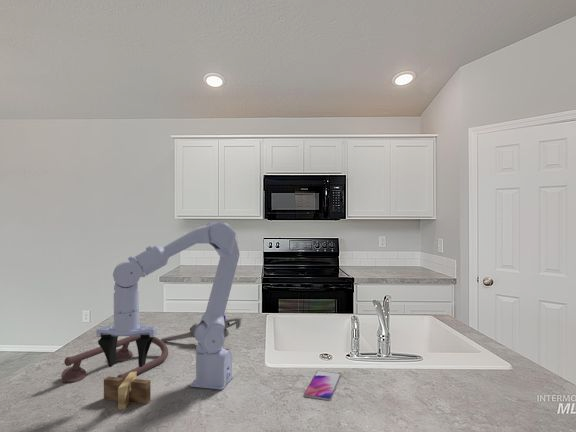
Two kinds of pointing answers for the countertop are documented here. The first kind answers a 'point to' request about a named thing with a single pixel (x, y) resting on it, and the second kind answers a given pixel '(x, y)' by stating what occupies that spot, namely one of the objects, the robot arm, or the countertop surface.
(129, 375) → the light wooden block
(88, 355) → the toilet paper hanger
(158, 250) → the robot arm
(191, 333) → the toy gun
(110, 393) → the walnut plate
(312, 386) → the smartphone
